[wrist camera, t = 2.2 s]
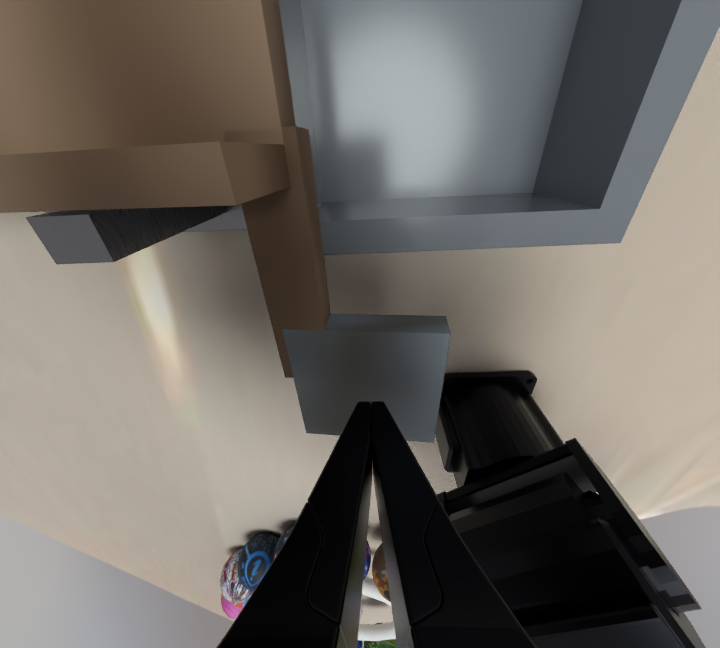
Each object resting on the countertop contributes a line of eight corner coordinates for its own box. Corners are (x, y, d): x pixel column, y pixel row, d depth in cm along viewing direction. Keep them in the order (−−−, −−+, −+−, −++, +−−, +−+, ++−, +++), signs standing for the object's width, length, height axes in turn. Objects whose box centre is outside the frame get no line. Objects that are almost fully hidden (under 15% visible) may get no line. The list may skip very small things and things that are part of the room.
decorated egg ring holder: (225, 465, 35) (177, 546, 28) (501, 506, 33) (534, 608, 25) (257, 581, 52) (233, 653, 44) (442, 615, 49) (451, 697, 42)
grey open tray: (683, -263, 8) (1093, -794, 3) (543, 215, 14) (620, 243, 10) (238, -217, 8) (95, -636, 4) (304, 226, 15) (279, 256, 10)
